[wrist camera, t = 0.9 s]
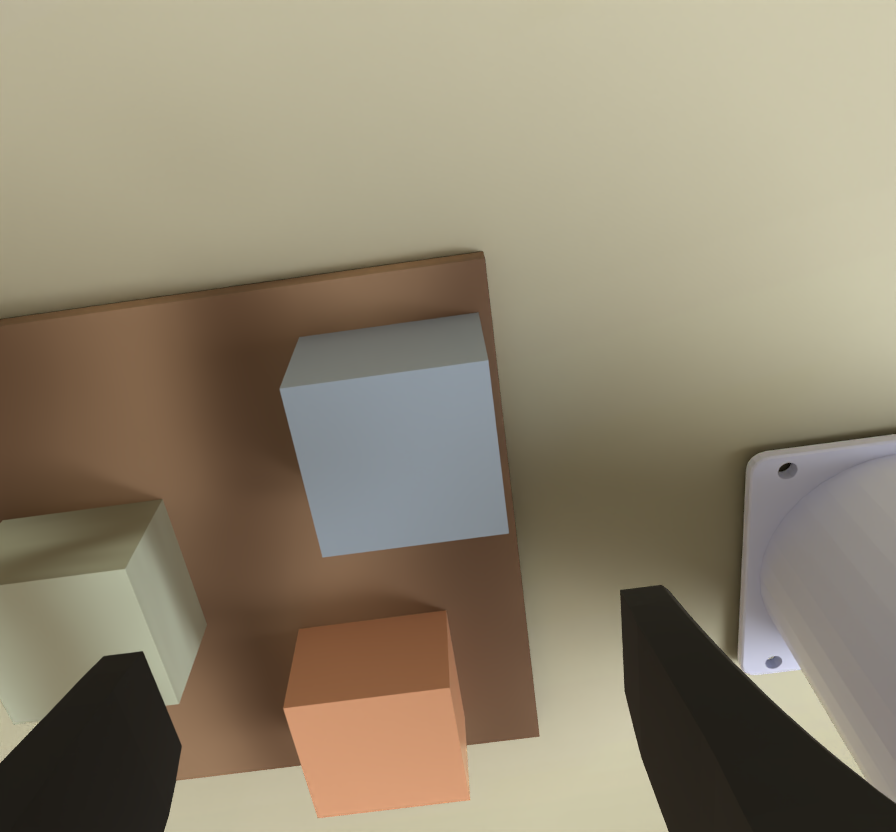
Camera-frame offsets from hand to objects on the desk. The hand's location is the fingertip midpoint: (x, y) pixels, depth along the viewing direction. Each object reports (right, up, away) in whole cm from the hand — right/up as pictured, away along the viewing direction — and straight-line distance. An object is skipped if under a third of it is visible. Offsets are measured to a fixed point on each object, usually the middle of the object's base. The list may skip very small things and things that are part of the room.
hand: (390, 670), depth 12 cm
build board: (-5, 0, +11) cm, 12 cm away
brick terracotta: (-1, -4, +12) cm, 13 cm away
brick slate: (0, +4, +8) cm, 9 cm away
